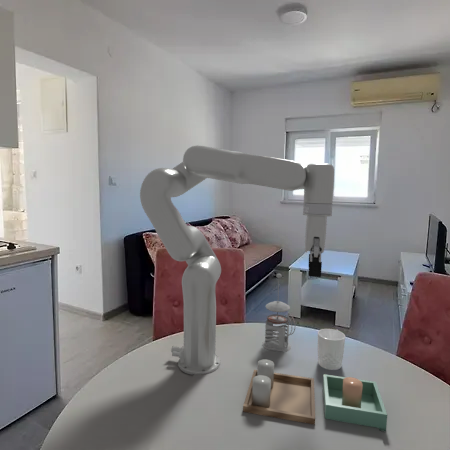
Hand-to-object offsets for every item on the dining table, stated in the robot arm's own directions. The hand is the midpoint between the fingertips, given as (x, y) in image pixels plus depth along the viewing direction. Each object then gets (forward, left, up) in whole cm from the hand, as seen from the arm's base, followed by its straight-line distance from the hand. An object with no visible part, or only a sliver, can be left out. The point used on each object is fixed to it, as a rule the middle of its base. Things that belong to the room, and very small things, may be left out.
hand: (314, 271), depth 92 cm
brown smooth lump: (+10, -12, -30) cm, 33 cm away
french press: (-10, +15, -31) cm, 35 cm away
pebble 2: (-11, -17, -30) cm, 36 cm away
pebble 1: (-11, -9, -30) cm, 33 cm away
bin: (+10, -12, -30) cm, 34 cm away
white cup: (+6, +7, -31) cm, 32 cm away
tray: (-7, -13, -30) cm, 34 cm away
